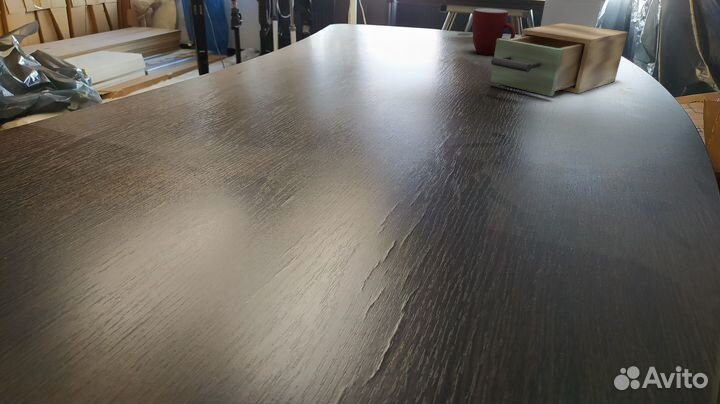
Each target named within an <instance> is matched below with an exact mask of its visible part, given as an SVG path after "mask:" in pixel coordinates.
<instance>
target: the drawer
mask: <svg viewBox="0 0 720 404" xmlns="http://www.w3.org/2000/svg"><path fill="white" fill-rule="evenodd" d="M584 47H585V43H579V42H572V41H566V40H560V39H553V38H547V37H541V36H535V35H531V36H525V37H521V36H519V37H515V38H513V39H510V38H508V39H506V38H502V39H501V38H500V39H497V42H496V48H495V52H494V56H492V58H491V61H490V64H491V65H492V69H491V75H490V83H495V84H498V85H503V86H507V87H511V88H515V89H519V90H523V91H527V92H532V93H535V94H541V95H544V96H547V97H552V96H554V95H555V92H557V91H560V89H563V88H567V87H570V86H573V85H576V82H577V78H578V73H579V69H580V65H581V60H582V56H583V52H584Z"/></svg>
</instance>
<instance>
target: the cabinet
mask: <svg viewBox="0 0 720 404" xmlns="http://www.w3.org/2000/svg"><path fill="white" fill-rule="evenodd" d="M628 33H629V32H628V31H623V30H616V29H609V28H601V27H587V26H580V25H573V24H565V23H560V24H554V25H547V26H541V25H540V26H534V27H528V28H523V29H522V30H521V34H520V35H521V36H520V37H525V36H531V35H535V36H541V37H547V38H553V39H560V40H566V41H572V42H579V43H585V47H584V52H583V56H582V60H581V65H580V69H579V73H578V78H577V82H576V85H573V86H570V87H567V88H563V89H560V90H561V91H564V92H569V93H575V94H581V93H583V92H586V91H590V90H593V89H595V88H598V87H602V86H605V85H608V84H611V83H613V82H615V81H616V78H617V74H618V70H619V67H620V63H621V61H622V60H621V59H622V56H623V53H624V48H625V44H626V41H627V36H628ZM560 90H559V91H560Z"/></svg>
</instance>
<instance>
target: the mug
mask: <svg viewBox="0 0 720 404" xmlns="http://www.w3.org/2000/svg"><path fill="white" fill-rule="evenodd" d="M508 16H509V11H508V10H505V9H500V8H499V9H498V8H474V9H473V13H472V20H471V21H472V23H471V25H472V26H471V27H472V43H473V46H474V49H475V53H476V54H479V55H484V56H491V55H493V54H495V48H496V42H497V39H500V38H501V39H503V36H504V33H505V30H506V28H507V29H509V30H510V37H509V39H513V38H516V29H515V26H514V25H513V24H512V23H509V22H508Z"/></svg>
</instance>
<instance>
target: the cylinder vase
mask: <svg viewBox="0 0 720 404" xmlns="http://www.w3.org/2000/svg"><path fill="white" fill-rule="evenodd" d="M602 1H603V0H544V6H543V11H542V17H541V21H540V27H541V26H547V25H554V24H560V23H565V24H573V25H580V26H587V27H595V28H597V23H598V18H599V13H600V9H601V5H602Z"/></svg>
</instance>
